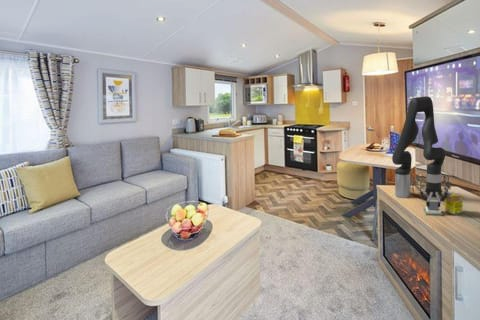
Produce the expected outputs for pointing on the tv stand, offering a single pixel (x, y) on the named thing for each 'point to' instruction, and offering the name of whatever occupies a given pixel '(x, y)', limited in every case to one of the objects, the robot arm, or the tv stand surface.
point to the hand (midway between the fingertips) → (433, 207)
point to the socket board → (432, 212)
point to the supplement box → (454, 204)
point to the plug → (433, 204)
